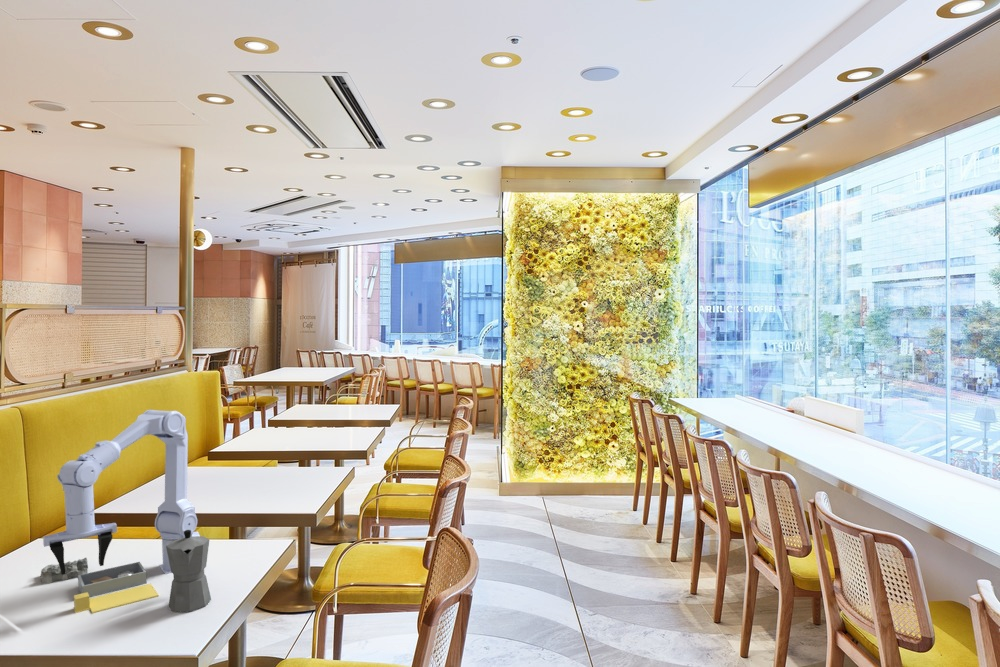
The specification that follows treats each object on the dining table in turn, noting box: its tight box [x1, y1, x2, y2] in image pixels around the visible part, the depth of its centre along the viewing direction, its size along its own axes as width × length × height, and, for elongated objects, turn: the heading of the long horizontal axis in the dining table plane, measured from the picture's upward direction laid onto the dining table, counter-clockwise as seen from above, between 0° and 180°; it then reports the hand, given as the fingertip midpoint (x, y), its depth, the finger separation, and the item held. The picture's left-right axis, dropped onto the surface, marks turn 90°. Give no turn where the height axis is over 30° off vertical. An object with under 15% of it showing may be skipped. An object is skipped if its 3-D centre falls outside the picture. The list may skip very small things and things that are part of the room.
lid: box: [73, 583, 160, 614], centre depth 161 cm, size 17×9×4 cm, turn 129°
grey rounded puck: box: [118, 571, 134, 577], centre depth 172 cm, size 4×4×2 cm
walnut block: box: [90, 576, 112, 584], centre depth 168 cm, size 4×3×2 cm
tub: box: [77, 561, 148, 598], centre depth 170 cm, size 14×9×4 cm, turn 128°
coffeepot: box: [166, 530, 212, 613], centre depth 159 cm, size 15×9×18 cm, turn 25°
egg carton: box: [40, 557, 89, 584], centre depth 176 cm, size 11×8×4 cm
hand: (82, 568), depth 156 cm, fingers open, 7 cm apart
